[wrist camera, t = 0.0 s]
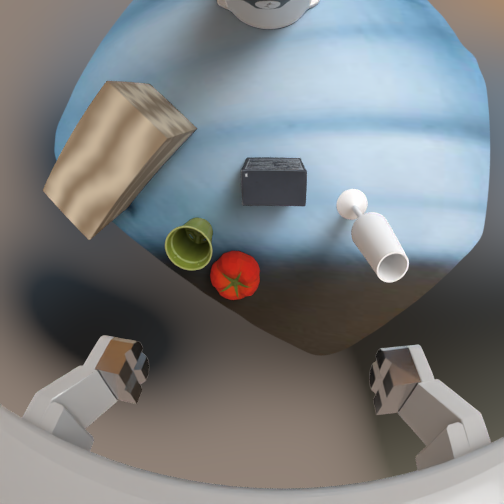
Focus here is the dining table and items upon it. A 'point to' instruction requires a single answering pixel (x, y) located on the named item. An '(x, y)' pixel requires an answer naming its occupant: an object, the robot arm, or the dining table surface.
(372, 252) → the champagne flute
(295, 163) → the small box
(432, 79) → the dining table surface
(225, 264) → the tomato
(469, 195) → the dining table surface
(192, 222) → the plant pot
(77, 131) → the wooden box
